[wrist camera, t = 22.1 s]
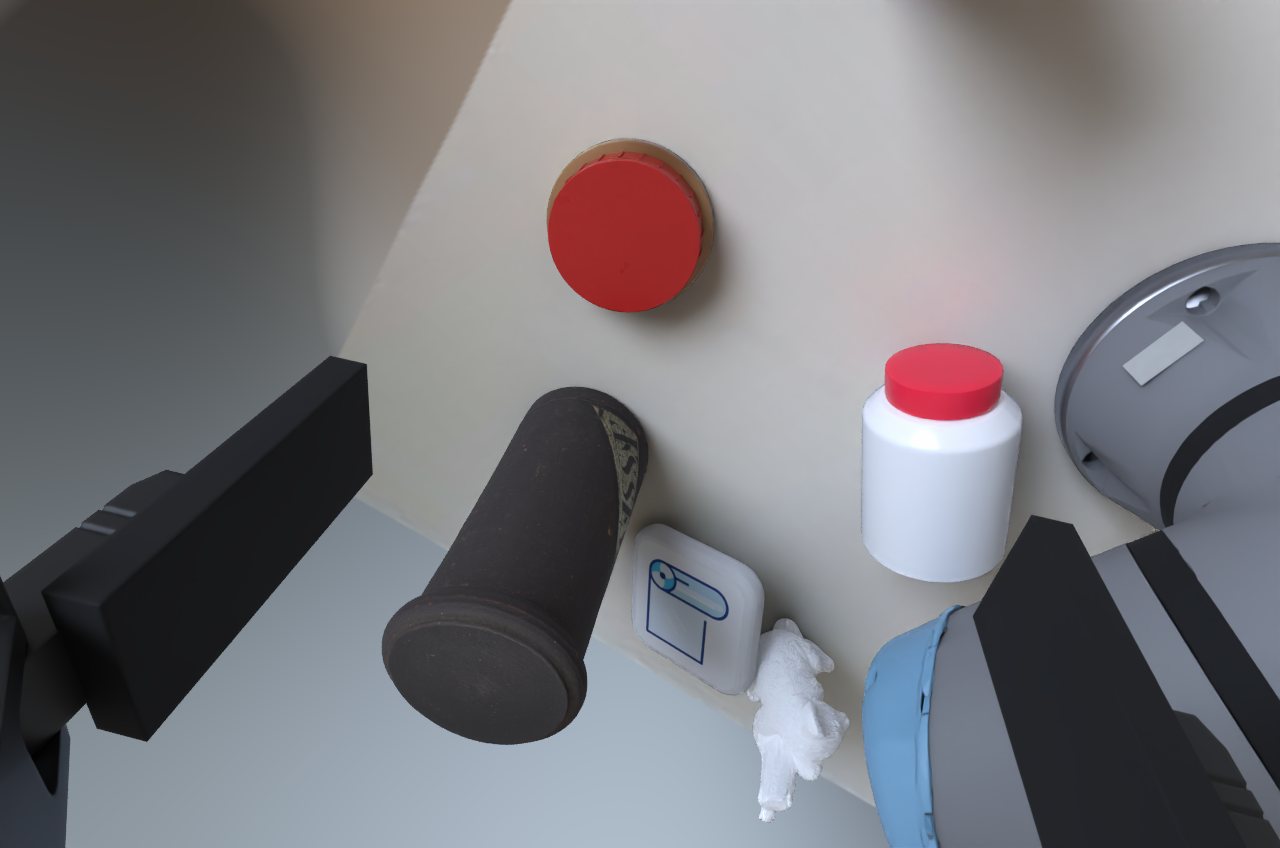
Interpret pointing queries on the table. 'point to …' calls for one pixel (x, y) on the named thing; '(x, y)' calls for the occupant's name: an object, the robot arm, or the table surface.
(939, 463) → the pill bottle
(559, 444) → the container
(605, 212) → the jar lid
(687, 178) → the coaster
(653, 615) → the button
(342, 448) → the robot arm
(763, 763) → the koala figurine
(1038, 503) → the table surface
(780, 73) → the table surface
